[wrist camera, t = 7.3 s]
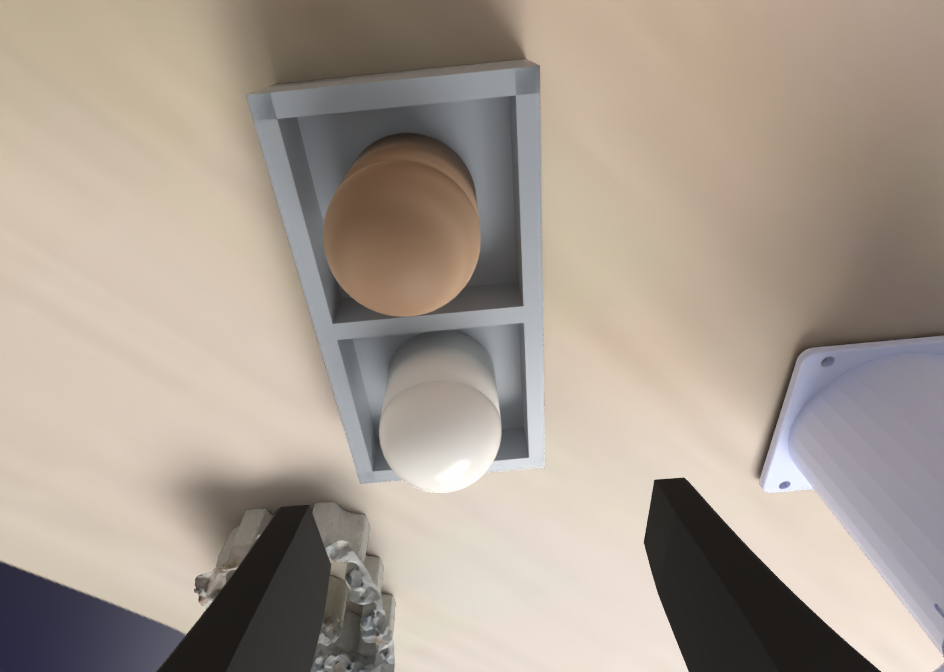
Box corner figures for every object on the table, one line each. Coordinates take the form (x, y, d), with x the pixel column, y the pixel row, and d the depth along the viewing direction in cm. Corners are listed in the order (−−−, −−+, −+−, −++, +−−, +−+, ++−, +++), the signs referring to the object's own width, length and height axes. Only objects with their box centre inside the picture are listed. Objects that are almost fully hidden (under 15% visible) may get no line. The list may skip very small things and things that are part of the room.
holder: (526, 59, 14) (539, 65, 12) (535, 423, 22) (544, 467, 20) (275, 84, 14) (245, 94, 12) (368, 438, 22) (360, 483, 20)
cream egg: (491, 325, 18) (503, 418, 14) (497, 410, 20) (510, 514, 16) (379, 335, 18) (358, 431, 14) (398, 419, 20) (384, 525, 16)
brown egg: (474, 129, 14) (482, 180, 10) (478, 258, 17) (486, 342, 13) (334, 136, 14) (286, 189, 10) (356, 264, 17) (324, 350, 12)
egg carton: (218, 501, 24) (179, 582, 21) (377, 491, 24) (364, 570, 21) (276, 624, 30) (253, 705, 26) (404, 616, 30) (398, 695, 26)
